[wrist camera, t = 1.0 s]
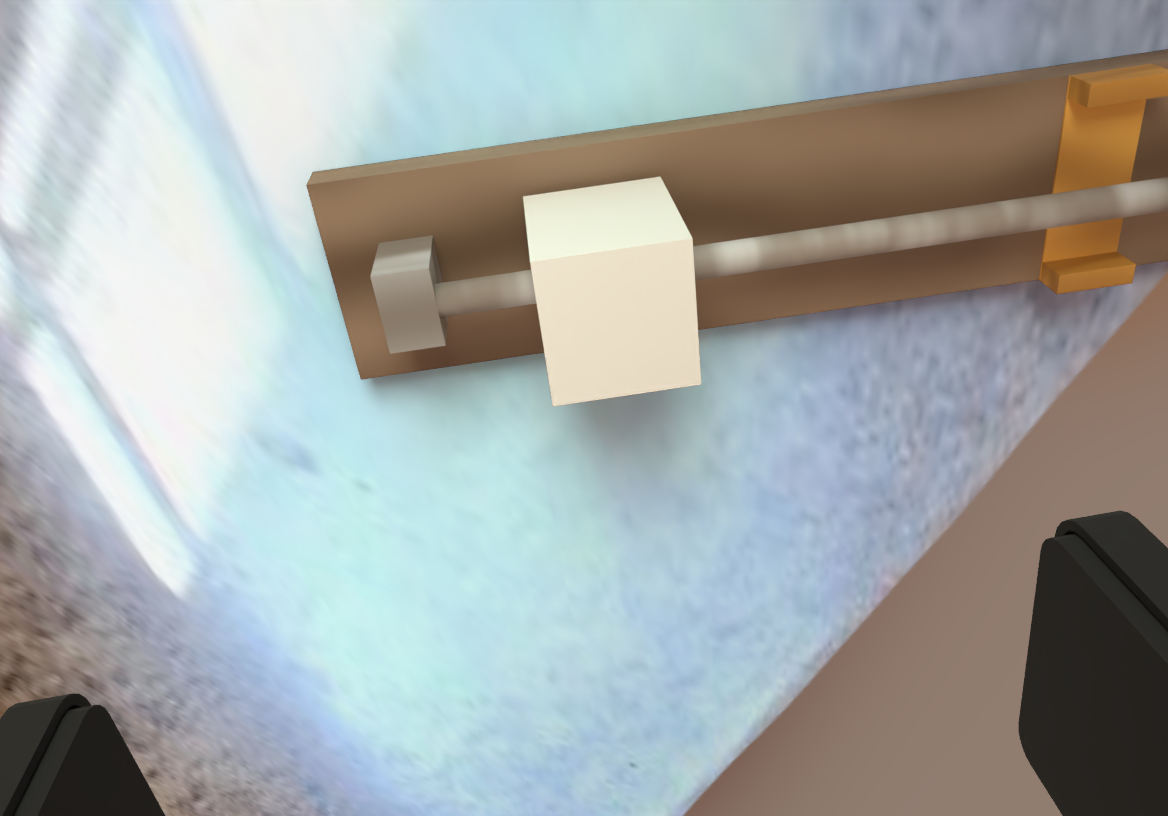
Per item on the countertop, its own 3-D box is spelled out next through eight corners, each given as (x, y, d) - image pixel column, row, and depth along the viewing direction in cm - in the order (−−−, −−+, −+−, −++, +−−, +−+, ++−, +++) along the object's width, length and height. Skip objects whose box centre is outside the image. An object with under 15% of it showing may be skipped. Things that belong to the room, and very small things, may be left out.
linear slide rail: (312, 172, 35) (274, 248, 28) (1376, 19, 35) (1573, 60, 29) (364, 361, 39) (341, 465, 32) (1313, 222, 39) (1474, 296, 33)
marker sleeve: (522, 196, 34) (530, 262, 29) (660, 176, 34) (692, 238, 29) (543, 325, 37) (552, 406, 31) (670, 306, 37) (701, 384, 31)
